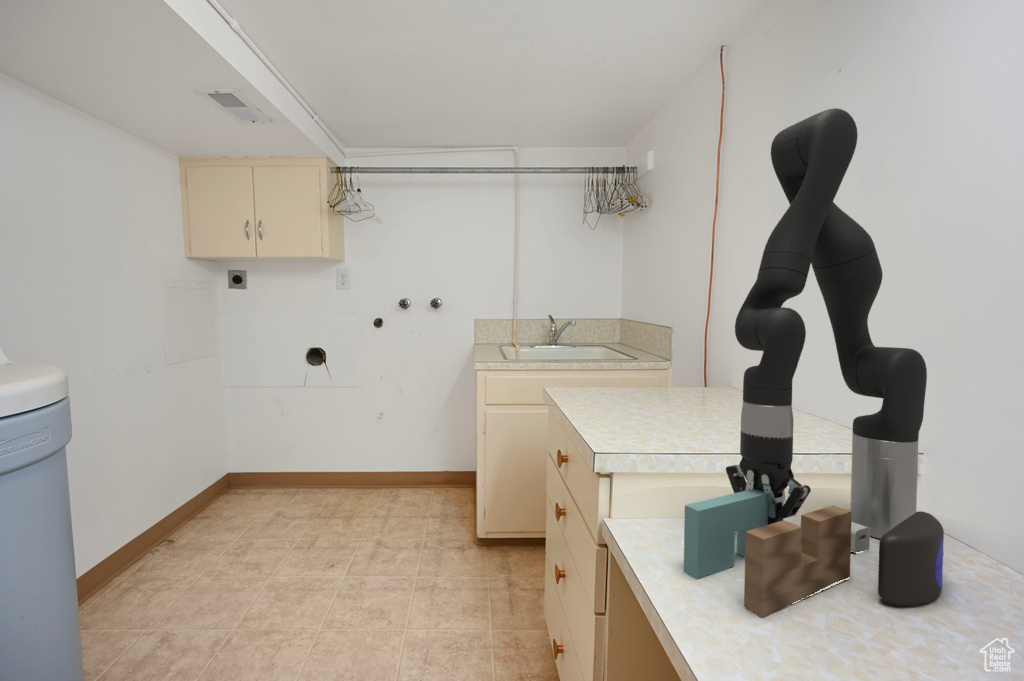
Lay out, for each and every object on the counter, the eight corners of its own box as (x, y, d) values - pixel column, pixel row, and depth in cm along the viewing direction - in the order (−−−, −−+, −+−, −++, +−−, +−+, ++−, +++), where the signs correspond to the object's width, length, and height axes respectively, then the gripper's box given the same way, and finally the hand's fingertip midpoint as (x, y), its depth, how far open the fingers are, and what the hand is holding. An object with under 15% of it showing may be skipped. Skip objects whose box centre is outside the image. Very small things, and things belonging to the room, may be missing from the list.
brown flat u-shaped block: (831, 571, 69) (833, 505, 69) (849, 579, 67) (851, 511, 67) (744, 607, 60) (745, 531, 60) (762, 618, 58) (763, 539, 58)
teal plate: (683, 571, 69) (684, 505, 69) (768, 543, 78) (769, 484, 78) (697, 579, 67) (698, 511, 66) (782, 549, 76) (783, 489, 76)
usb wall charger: (854, 555, 74) (855, 530, 74) (811, 537, 81) (812, 515, 80) (869, 550, 76) (870, 526, 76) (826, 533, 82) (826, 511, 82)
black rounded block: (919, 621, 58) (921, 546, 57) (874, 603, 61) (876, 533, 61) (955, 581, 67) (957, 517, 67) (914, 568, 71) (916, 507, 70)
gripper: (824, 437, 71) (822, 548, 71) (742, 420, 83) (740, 515, 83) (795, 442, 67) (792, 559, 68) (714, 424, 80) (712, 523, 80)
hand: (764, 534), depth 76 cm, fingers closed on teal plate, 2 cm apart
